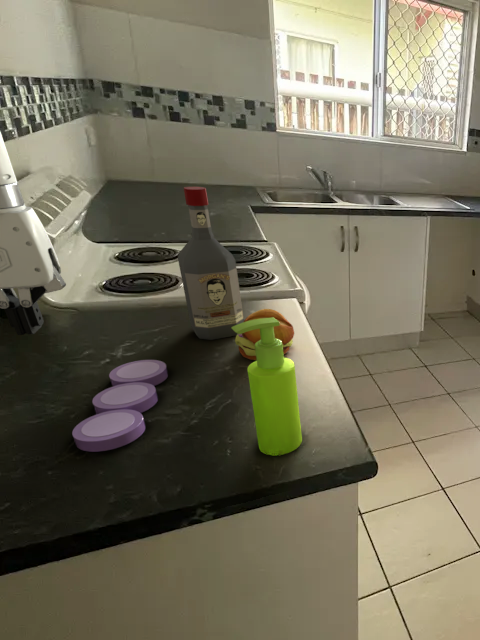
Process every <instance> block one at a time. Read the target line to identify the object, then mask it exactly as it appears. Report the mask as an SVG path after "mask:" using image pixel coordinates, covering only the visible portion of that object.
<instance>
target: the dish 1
mask: <svg viewBox="0 0 480 640" xmlns="http://www.w3.org/2000/svg"><path fill="white" fill-rule="evenodd" d="M145 431H146V422H145V419H144V415H143V414H142V413H140V412H138V411H135V410H129V409H120V410H112V411H107V412H103V413H100V414H94V415H92V416H89V417H87V418H85V419H84V420H82V421H80V422H79V423H78V424H76V426H74V427H73V429H72V432H71V434H72V438H73V441H74V444H75V446H76V448H78V449H79V450H81V451H82V452H83V451H84V452H89V453H90V452H91V453H97V452H106V451H110V450H115V449H118V448H122V447H124V446H126V445H128V444H130V443H133V442H134V441H136V440H137V439H139V438H140V437H141V436H142V435H143V434H144V433H145Z"/></svg>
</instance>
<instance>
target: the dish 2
mask: <svg viewBox="0 0 480 640" xmlns="http://www.w3.org/2000/svg"><path fill="white" fill-rule="evenodd" d="M108 377H109V378H108V379H109V381H110V385H111V387H113V386H117V385H121V384H126V383H134V382H142V383H149V384H151V385H153V386H154V387H155V386H158V385H160V384H162V383H163V382H165V381H166V380H167V378H168V377H169V371H168V368H167V364H166V363H165V362H164V361H161V360H159V359H158V360H157V359H140V360H135V361H129V362H127V363H124V364H121V365H119V366H116V367H115V368H113V369H112V370H111V371H110V372H109V374H108Z"/></svg>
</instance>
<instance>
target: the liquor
mask: <svg viewBox="0 0 480 640" xmlns="http://www.w3.org/2000/svg"><path fill="white" fill-rule="evenodd" d="M183 192H184V193H183V194H184V199H185V204H186V205H187V207H188V214H189V219H190V225H191V233H190V234H191V237H190V239H189V240H188V241H187V242H186V243H185V245H184V246H183V247H182V249H181V250H179V252H178V256H177V262H178V266H179V271H180V272H179V273H180V276H181V282H182V286H183V287H182V288H183V292H184V297H185V303H186V308H187V312H188V318H189V322H190V327H191V329H192V330H193V333H195V335H196V336H197V338H198V339H199V340H208V341H213V340H219V339H224V338H229V337H234V336H235V337H236V336H237V335H238V334H237V333H236V332H235V331H234V330H233V329H232V328H231V327H233V326H235V325H238V324H240V323H243V322H244V320H245V317H244V312H243V311H244V310H243V303H242V296H241V289H240V283H239V276H238V270H237V261H236V259H235V257H234V255H233V254H232V253H231V251H229V250H228V249H227V248H226V247H224V245H222V244H221V243H220V242H219V241H218V240H217V239H216V238H215V234H214V233H213V230H212V226H211V220H210V213H209V208H208V205H209V200H208V194H207V188H206V187H204V186H184V187H183Z"/></svg>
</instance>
